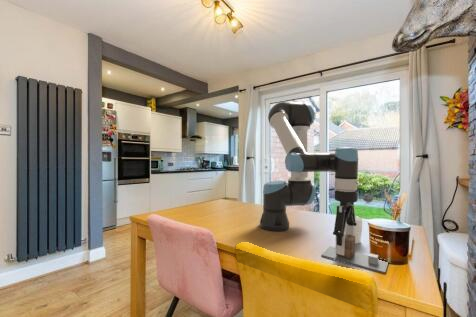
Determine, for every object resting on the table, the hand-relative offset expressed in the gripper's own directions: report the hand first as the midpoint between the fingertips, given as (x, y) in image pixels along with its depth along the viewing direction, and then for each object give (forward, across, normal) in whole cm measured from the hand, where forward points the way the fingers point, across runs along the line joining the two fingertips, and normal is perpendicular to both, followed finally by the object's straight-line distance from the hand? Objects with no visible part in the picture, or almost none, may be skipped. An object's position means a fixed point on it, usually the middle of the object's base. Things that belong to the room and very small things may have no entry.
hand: (345, 247), depth 85 cm
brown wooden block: (+2, 0, 0) cm, 2 cm away
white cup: (+4, +19, +2) cm, 19 cm away
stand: (+3, 0, -3) cm, 5 cm away
